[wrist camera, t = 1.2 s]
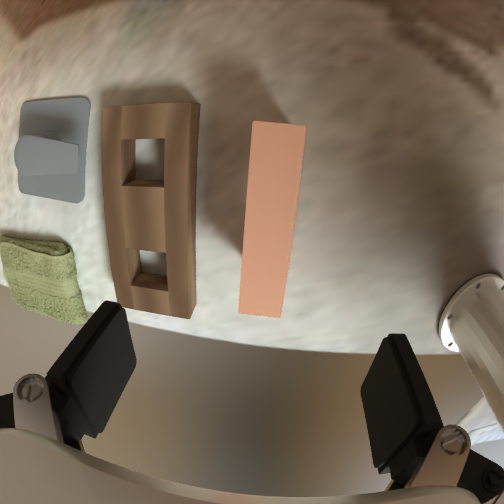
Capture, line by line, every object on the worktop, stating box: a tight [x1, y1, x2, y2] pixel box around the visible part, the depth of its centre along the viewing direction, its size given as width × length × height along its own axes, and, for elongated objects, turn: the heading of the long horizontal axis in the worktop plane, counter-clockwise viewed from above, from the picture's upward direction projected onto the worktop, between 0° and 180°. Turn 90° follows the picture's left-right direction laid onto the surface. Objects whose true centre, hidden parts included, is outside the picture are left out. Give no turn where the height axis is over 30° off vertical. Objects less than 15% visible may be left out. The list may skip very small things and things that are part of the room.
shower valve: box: [14, 97, 91, 203], centre depth 25 cm, size 12×6×15 cm
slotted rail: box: [102, 102, 200, 319], centre depth 28 cm, size 9×22×3 cm, turn 176°
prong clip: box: [238, 121, 306, 318], centre depth 24 cm, size 4×15×8 cm, turn 175°
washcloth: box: [0, 235, 87, 324], centre depth 34 cm, size 13×18×3 cm
